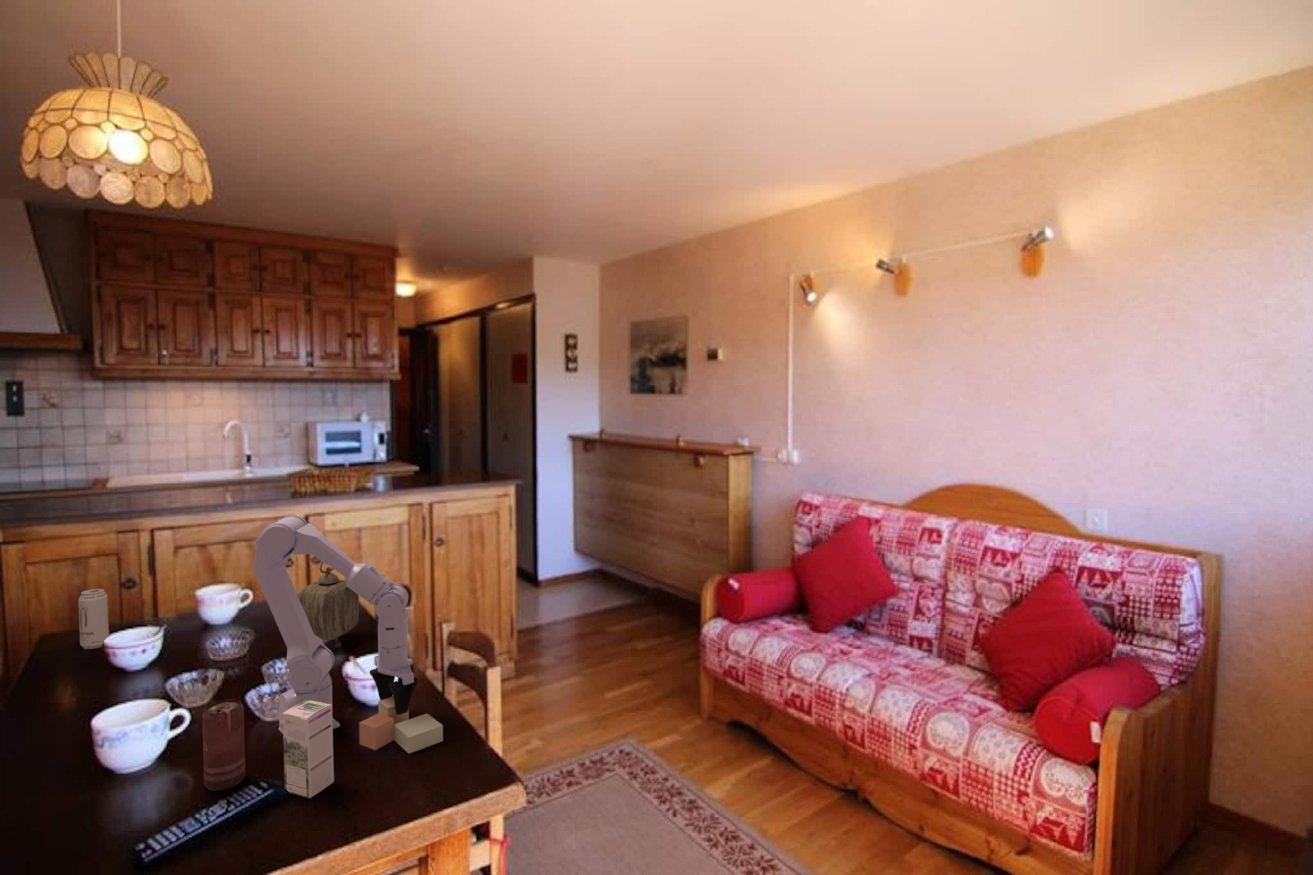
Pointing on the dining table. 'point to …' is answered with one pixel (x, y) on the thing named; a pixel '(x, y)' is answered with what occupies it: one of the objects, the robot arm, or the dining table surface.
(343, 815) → the dining table surface
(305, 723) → the syrup box
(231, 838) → the dining table surface
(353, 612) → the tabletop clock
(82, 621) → the energy drink can
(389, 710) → the maple cube
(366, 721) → the terracotta cube
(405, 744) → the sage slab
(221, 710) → the can
